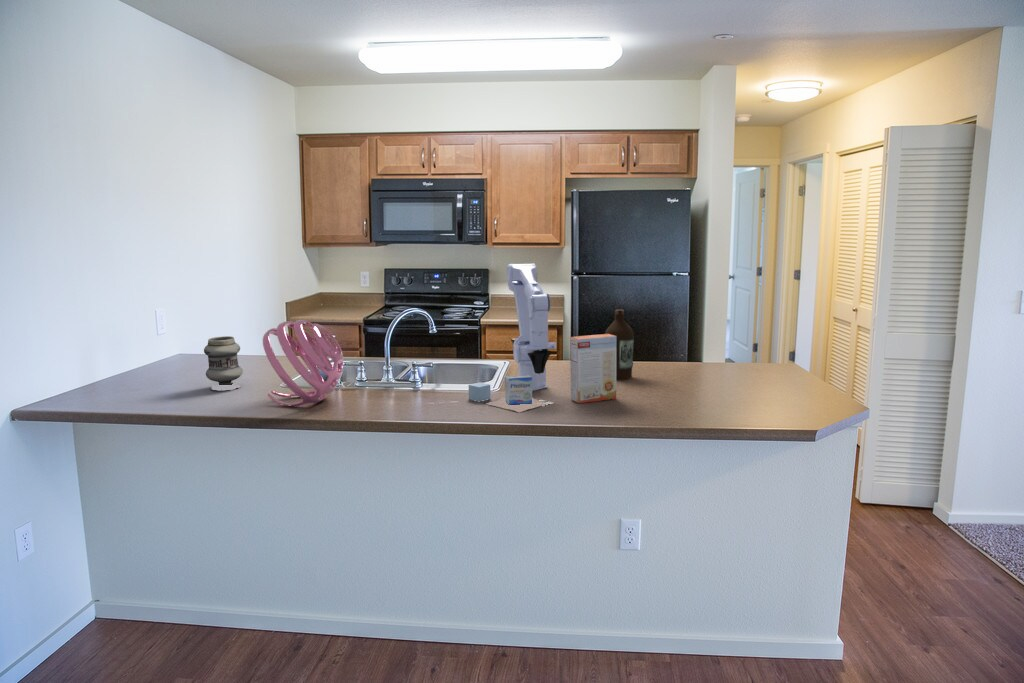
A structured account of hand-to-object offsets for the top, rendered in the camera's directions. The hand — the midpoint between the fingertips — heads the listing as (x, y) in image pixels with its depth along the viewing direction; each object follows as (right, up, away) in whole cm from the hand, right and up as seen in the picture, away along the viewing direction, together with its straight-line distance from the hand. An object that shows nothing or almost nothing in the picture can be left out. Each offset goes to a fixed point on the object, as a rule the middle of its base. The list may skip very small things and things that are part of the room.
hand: (539, 372), depth 231 cm
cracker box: (+17, -9, -1) cm, 19 cm away
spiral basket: (-75, -10, -1) cm, 76 cm away
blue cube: (-19, -9, +1) cm, 21 cm away
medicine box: (-7, -10, -5) cm, 13 cm away
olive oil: (+30, -3, +31) cm, 43 cm away
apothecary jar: (-110, -7, +20) cm, 112 cm away
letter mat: (-7, -9, -5) cm, 13 cm away
